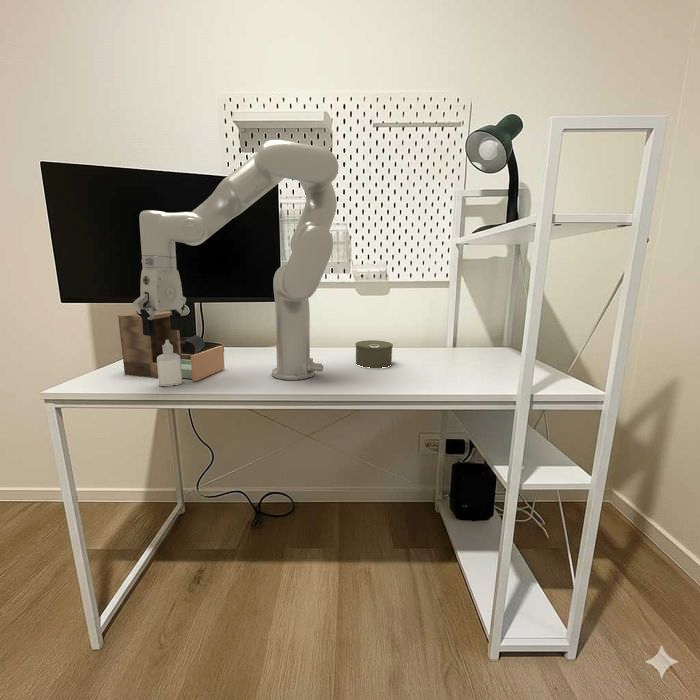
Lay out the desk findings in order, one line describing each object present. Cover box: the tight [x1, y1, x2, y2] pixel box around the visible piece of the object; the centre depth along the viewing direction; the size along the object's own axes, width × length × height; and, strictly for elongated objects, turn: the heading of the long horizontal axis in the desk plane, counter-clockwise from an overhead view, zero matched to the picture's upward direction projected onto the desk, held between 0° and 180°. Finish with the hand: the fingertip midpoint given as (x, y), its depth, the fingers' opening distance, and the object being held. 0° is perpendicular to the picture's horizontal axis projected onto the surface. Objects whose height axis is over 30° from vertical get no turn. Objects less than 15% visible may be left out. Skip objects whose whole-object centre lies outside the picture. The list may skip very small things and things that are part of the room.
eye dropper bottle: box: [157, 340, 183, 387], centre depth 101 cm, size 4×6×12 cm
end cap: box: [180, 334, 206, 355], centre depth 133 cm, size 10×7×7 cm
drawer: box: [181, 345, 226, 382], centre depth 112 cm, size 14×14×7 cm
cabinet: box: [117, 310, 192, 379], centre depth 114 cm, size 14×13×17 cm
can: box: [355, 340, 394, 368], centre depth 126 cm, size 12×12×7 cm
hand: (163, 332), depth 100 cm, fingers open, 9 cm apart
